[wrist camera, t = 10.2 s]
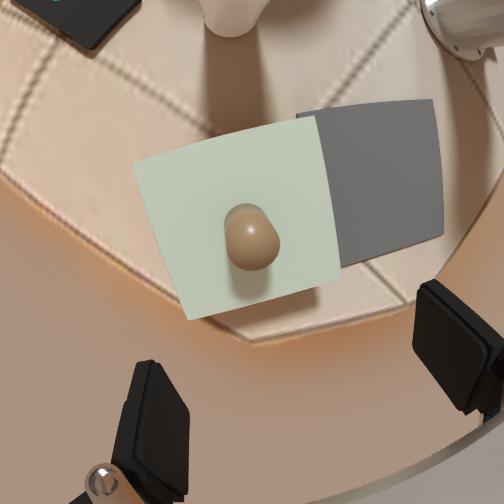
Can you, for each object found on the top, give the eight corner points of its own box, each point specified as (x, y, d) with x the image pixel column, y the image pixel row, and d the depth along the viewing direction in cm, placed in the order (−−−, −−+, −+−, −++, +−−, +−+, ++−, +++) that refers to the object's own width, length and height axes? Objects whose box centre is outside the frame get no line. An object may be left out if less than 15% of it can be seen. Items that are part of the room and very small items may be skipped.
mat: (430, 99, 28) (432, 99, 28) (442, 232, 35) (443, 233, 35) (296, 113, 28) (297, 113, 28) (325, 270, 35) (327, 271, 35)
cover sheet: (311, 116, 23) (338, 111, 17) (338, 274, 29) (364, 305, 23) (133, 162, 22) (110, 171, 17) (188, 316, 28) (184, 355, 23)
